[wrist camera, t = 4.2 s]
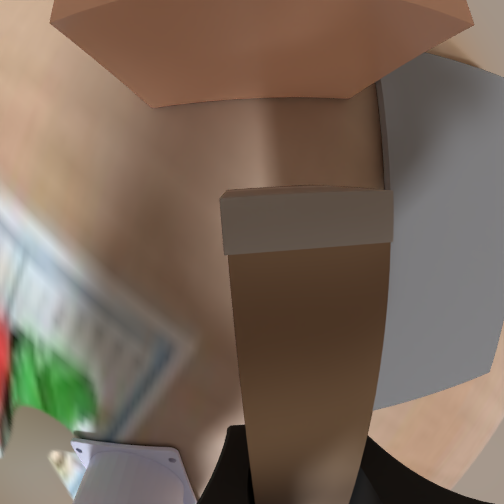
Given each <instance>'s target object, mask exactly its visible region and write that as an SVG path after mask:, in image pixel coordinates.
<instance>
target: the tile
mask: <svg viewBox="0 0 504 504" xmlns="http://www.w3.org/2000/svg"><path fill="white" fill-rule="evenodd" d="M50 24H51V25H53V26H54V27H55V28H56V29H58V30H59V31H60V32H61V33H63V34H64V35H65V36H66V37H68V38H69V39H70V40H71V41H73V42H74V43H75V44H76V45H78V46H79V47H80V48H81V49H82V50H84V51H85V52H86V53H87V54H89V55H90V56H91V57H92V58H93V59H95V60H96V61H97V62H98V63H99V64H101V65H102V66H103V67H104V68H105V69H107V70H108V71H109V72H110V73H111V74H113V75H114V76H115V77H116V78H117V79H119V80H120V81H121V82H122V83H123V84H124V85H126V86H127V87H128V88H129V89H130V90H131V91H133V92H134V93H135V94H136V95H137V96H138V97H140V98H141V99H142V100H143V101H144V102H145V103H146V104H148V105H149V106H150V107H151V108H158V107H165V106H172V105H180V104H188V103H197V102H206V101H218V100H231V99H247V98H274V97H315V98H342V99H350V98H351V97H353V96H354V95H356V94H357V93H359V92H360V91H362V90H364V89H365V88H367V87H368V86H370V85H371V84H373V83H375V82H376V81H378V80H379V79H381V78H383V77H384V76H386V75H387V74H389V73H391V72H392V71H394V70H396V69H397V68H399V67H400V66H402V65H404V64H405V63H407V62H409V61H411V60H412V59H414V58H416V57H417V56H419V55H421V54H422V53H424V52H426V51H428V50H429V49H431V48H433V47H435V46H436V45H438V44H440V43H442V42H444V41H445V40H447V39H449V38H451V37H453V36H455V35H456V34H458V33H460V32H462V31H464V30H466V29H468V28H470V27H472V26H474V22H473V20H472V16H471V13H470V11H469V7H468V4H467V2H466V0H54V4H53V9H52V13H51V18H50Z"/></svg>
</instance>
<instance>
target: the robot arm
mask: <svg viewBox="0 0 504 504" xmlns="http://www.w3.org/2000/svg"><path fill="white" fill-rule="evenodd" d="M71 445H72V447H73V449H74V450H75V452H76V454H77V455H78V457H79V459H80V460H81V462H82V464H83V465H84V467H85V469H86V472H85V474H84V476H83V479H82V481H81V484H80V486H79V489H78V491H77V494H76V496H75V499H74V501H73V504H255V499H254V491H253V484H252V476H251V468H250V461H249V453H248V445H247V437H246V428H245V425H233V426H230V427H228V428H227V434H226V439H225V442H224V446H223V449H222V452H221V455H220V457H219V460H218V462H217V465H216V467H215V469H214V472H213V474H212V476H211V478H210V480H209V482H208V484H207V486H206V488H205V490H204V492H203V494H202V495H201V497H200V499H199V501H198V502H197V500H196V497H195V495H194V492H193V490H192V487H191V484H190V482H189V479H188V477H187V474H186V471H185V468H184V466H183V463H182V460H181V457H180V454H179V452H178V450H176V449H175V448H172V447H153V446H138V445H126V444H116V443H107V442H99V441H92V440H85V439H79V438H73V439H72V440H71ZM349 504H493V503H488V502H483V501H479V500H476V499H472V498H469V497H465V496H463V495H460V494H458V493H455V492H453V491H450V490H448V489H445V488H443V487H441V486H439V485H437V484H435V483H433V482H431V481H429V480H427V479H425V478H423V477H422V476H420V475H418V474H417V473H415V472H413V471H412V470H410V469H409V468H407V467H406V466H404V465H403V464H402V463H400V462H399V461H398V460H396V459H395V458H394V457H392V456H391V455H390V454H389V453H387V452H386V451H385V450H384V449H383V448H381V447H380V446H379V445H378V444H377V443H376V442H374V441H373V440H372V439H371V438H370V437H369V436H368V435H367V439H366V444H365V448H364V452H363V456H362V460H361V464H360V467H359V471H358V475H357V478H356V482H355V485H354V488H353V492H352V495H351V498H350V501H349Z"/></svg>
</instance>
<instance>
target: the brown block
mask: <svg viewBox="0 0 504 504" xmlns="http://www.w3.org/2000/svg"><path fill="white" fill-rule="evenodd" d="M220 210H221V223H222V235H223V247H224V255H228V263H229V274H230V285H231V296H232V307H233V317H234V327H235V337H236V347H237V357H238V366H239V376H240V385H241V394H242V403H243V411H244V420H245V428H246V437H247V445H248V453H249V461H250V468H251V476H252V484H253V491H254V499H255V504H349V501H350V498H351V495H352V492H353V488H354V485H355V482H356V478H357V475H358V471H359V467H360V464H361V460H362V456H363V452H364V448H365V444H366V439H367V435H368V431H369V426H370V421H371V416H372V411H373V406H374V401H375V396H376V390H377V384H378V378H379V372H380V365H381V358H382V351H383V343H384V334H385V325H386V315H387V304H388V291H389V274H390V250H391V242H393V238H394V200H393V190H382V189H369V188H356V187H341V186H324V185H301V186H280V187H263V188H248V189H234V190H226V192H225V193H224V194H223V195H222V196H221V197H220Z"/></svg>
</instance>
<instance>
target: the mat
mask: <svg viewBox="0 0 504 504" xmlns="http://www.w3.org/2000/svg"><path fill="white" fill-rule="evenodd" d="M376 89H377V97H378V105H379V114H380V124H381V135H382V147H383V163H384V184H385V190H393V200H394V238H393V242H391V250H390V274H389V291H388V304H387V315H386V325H385V334H384V343H383V351H382V358H381V365H380V372H379V378H378V384H377V390H376V396H375V401H374V406H373V410H377V409H381V408H385V407H389V406H393V405H397V404H400V403H404V402H407V401H411V400H414V399H417V398H421V397H424V396H427V395H430V394H433V393H436V392H439V391H442V390H445V389H448V388H451V387H453V386H456V385H459V384H461V383H464V382H467V381H469V380H472V379H474V378H477V377H479V376H482V375H484V374H486V373H489V372H490V369H491V366H492V362H493V359H494V356H495V352H496V349H497V345H498V341H499V337H500V333H501V329H502V325H503V321H504V77H501V76H498V75H496V74H493V73H491V72H488V71H485V70H482V69H479V68H477V67H474V66H471V65H468V64H464V63H461V62H458V61H455V60H451V59H448V58H444V57H441V56H437V55H433V54H429V53H425V52H424V53H422V54H421V55H419V56H417V57H416V58H414V59H412V60H411V61H409V62H407V63H405V64H404V65H402V66H400V67H399V68H397V69H396V70H394V71H392V72H391V73H389V74H387V75H386V76H384V77H383V78H381V79H379V80H378V81H376Z"/></svg>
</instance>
